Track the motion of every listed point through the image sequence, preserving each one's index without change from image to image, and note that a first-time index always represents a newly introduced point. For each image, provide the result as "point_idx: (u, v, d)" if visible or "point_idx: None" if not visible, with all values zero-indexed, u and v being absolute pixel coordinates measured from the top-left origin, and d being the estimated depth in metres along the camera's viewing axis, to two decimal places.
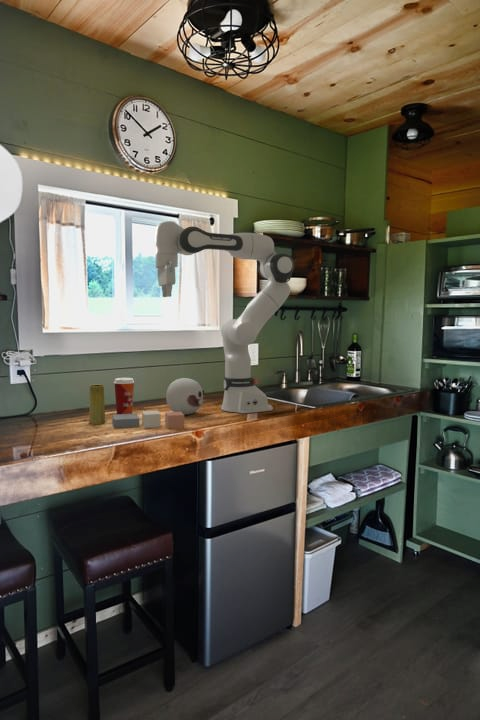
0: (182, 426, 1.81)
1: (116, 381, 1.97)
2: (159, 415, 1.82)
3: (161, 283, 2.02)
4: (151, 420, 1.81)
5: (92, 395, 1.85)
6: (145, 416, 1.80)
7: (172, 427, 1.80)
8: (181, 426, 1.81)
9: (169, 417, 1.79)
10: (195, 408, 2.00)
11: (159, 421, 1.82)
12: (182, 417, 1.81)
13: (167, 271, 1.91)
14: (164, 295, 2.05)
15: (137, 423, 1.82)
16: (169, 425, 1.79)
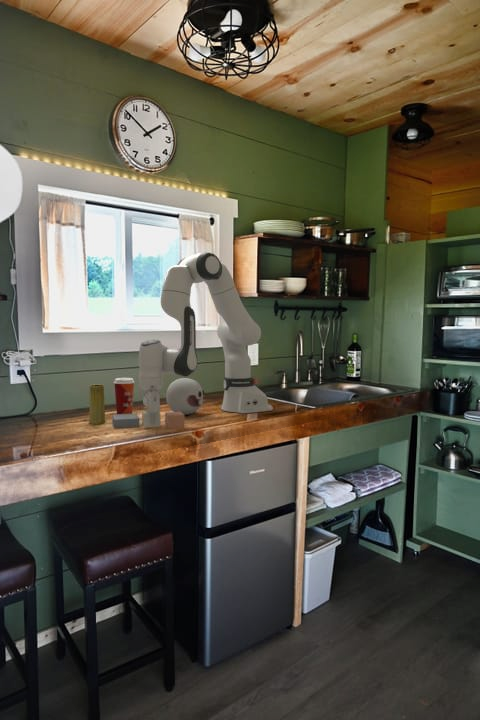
0: (182, 426, 1.81)
1: (116, 381, 1.97)
2: (159, 415, 1.82)
3: (145, 405, 1.85)
4: None
5: (92, 395, 1.85)
6: (145, 416, 1.80)
7: (172, 427, 1.80)
8: (181, 426, 1.81)
9: (169, 417, 1.79)
10: (195, 408, 2.00)
11: (159, 421, 1.82)
12: (182, 417, 1.81)
13: (151, 400, 1.74)
14: None
15: (137, 423, 1.82)
16: (169, 425, 1.79)
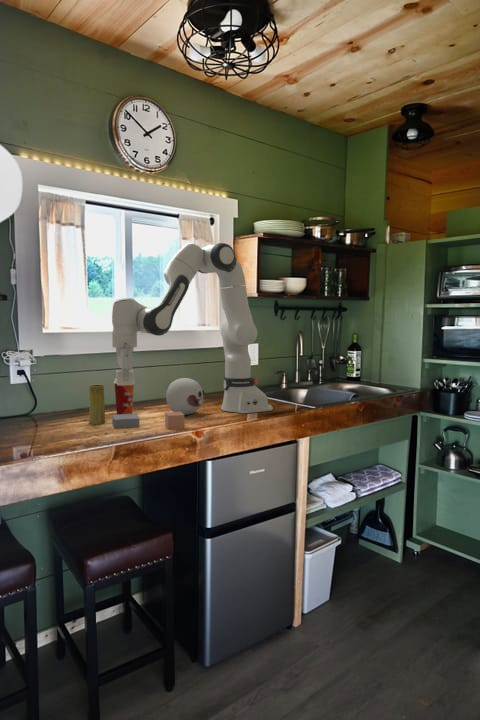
0: (182, 426, 1.81)
1: None
2: (132, 373, 1.81)
3: (119, 364, 1.84)
4: None
5: (92, 395, 1.85)
6: (118, 373, 1.80)
7: (172, 427, 1.80)
8: (181, 426, 1.81)
9: (169, 417, 1.79)
10: (195, 408, 2.00)
11: (132, 379, 1.82)
12: (182, 417, 1.81)
13: (123, 356, 1.73)
14: None
15: (137, 423, 1.82)
16: (169, 425, 1.79)
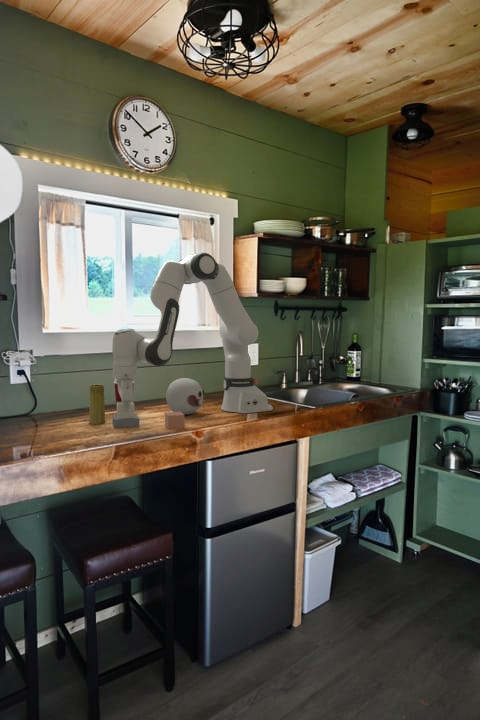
0: (182, 426, 1.81)
1: None
2: (133, 406, 1.83)
3: None
4: None
5: (92, 395, 1.85)
6: (119, 407, 1.81)
7: (172, 427, 1.80)
8: (181, 426, 1.81)
9: (169, 417, 1.79)
10: (195, 408, 2.00)
11: (133, 412, 1.83)
12: (182, 417, 1.81)
13: (123, 388, 1.74)
14: None
15: (137, 423, 1.82)
16: (169, 425, 1.79)
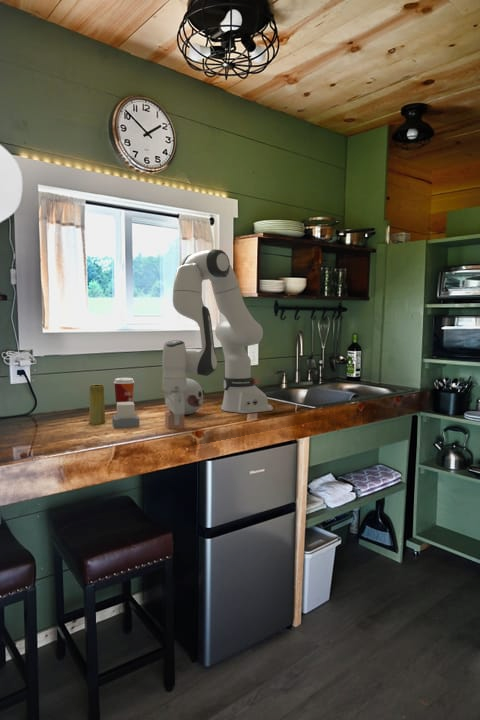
0: (182, 426, 1.81)
1: (116, 381, 1.97)
2: (133, 406, 1.83)
3: (168, 406, 1.84)
4: (125, 410, 1.82)
5: (92, 395, 1.85)
6: (119, 407, 1.81)
7: (172, 427, 1.80)
8: (181, 426, 1.81)
9: (169, 417, 1.79)
10: (195, 408, 2.00)
11: (133, 412, 1.83)
12: (182, 417, 1.81)
13: (175, 401, 1.72)
14: None
15: (137, 423, 1.82)
16: (169, 425, 1.79)
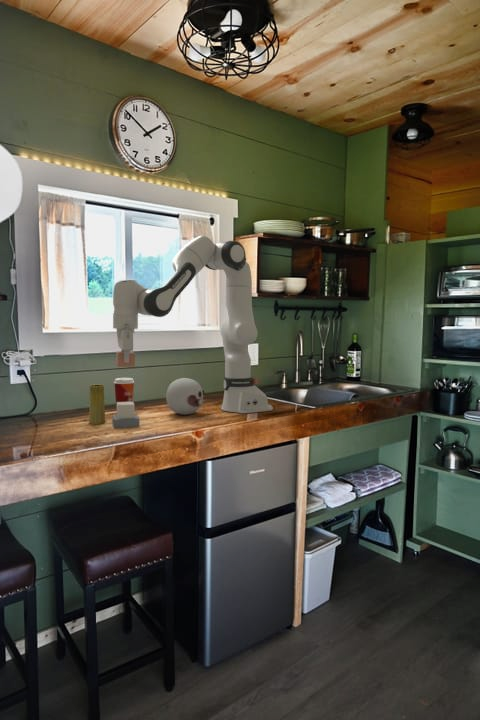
0: (132, 364, 1.81)
1: (116, 381, 1.97)
2: (133, 406, 1.83)
3: None
4: (125, 410, 1.82)
5: (92, 395, 1.85)
6: (119, 407, 1.81)
7: (122, 365, 1.80)
8: (131, 364, 1.81)
9: (119, 354, 1.79)
10: (195, 408, 2.00)
11: (133, 412, 1.83)
12: (132, 355, 1.80)
13: (124, 337, 1.72)
14: None
15: (137, 423, 1.82)
16: (119, 362, 1.79)
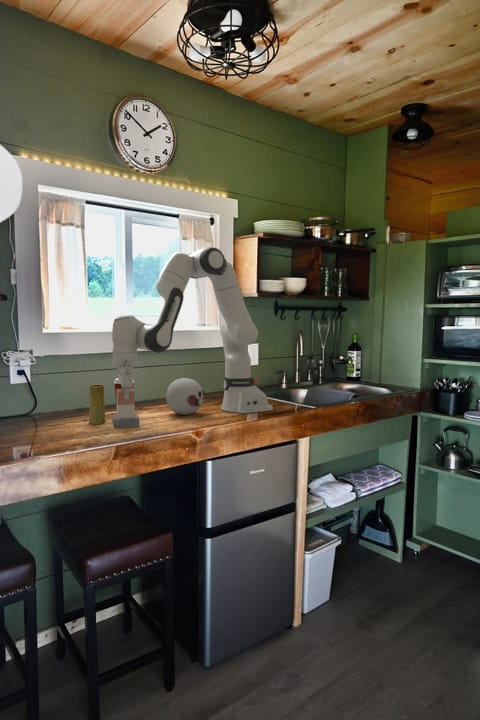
0: (132, 402, 1.82)
1: (116, 381, 1.97)
2: (133, 406, 1.83)
3: (119, 381, 1.85)
4: (125, 410, 1.82)
5: (92, 395, 1.85)
6: (119, 407, 1.81)
7: (122, 403, 1.81)
8: (131, 402, 1.82)
9: (119, 393, 1.81)
10: (195, 408, 2.00)
11: (133, 412, 1.83)
12: (132, 393, 1.82)
13: (123, 374, 1.74)
14: None
15: (137, 423, 1.82)
16: (119, 401, 1.81)
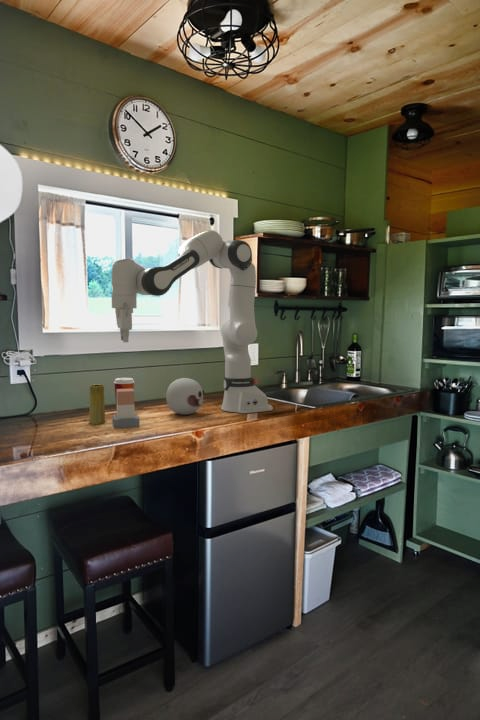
0: (132, 402, 1.82)
1: (116, 381, 1.97)
2: (133, 406, 1.83)
3: None
4: (125, 410, 1.82)
5: (92, 395, 1.85)
6: (119, 407, 1.81)
7: (122, 403, 1.81)
8: (131, 402, 1.82)
9: (119, 393, 1.81)
10: (195, 408, 2.00)
11: (133, 412, 1.83)
12: (132, 393, 1.82)
13: (122, 315, 1.72)
14: (122, 338, 1.86)
15: (137, 423, 1.82)
16: (119, 401, 1.81)
